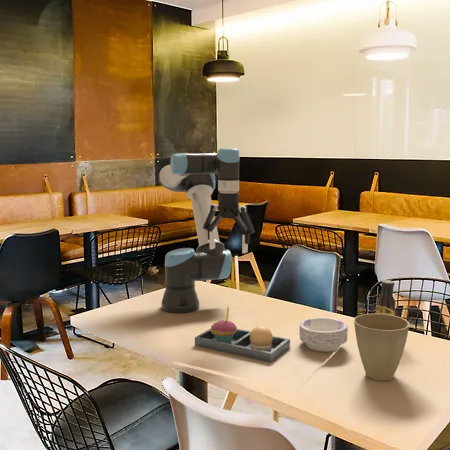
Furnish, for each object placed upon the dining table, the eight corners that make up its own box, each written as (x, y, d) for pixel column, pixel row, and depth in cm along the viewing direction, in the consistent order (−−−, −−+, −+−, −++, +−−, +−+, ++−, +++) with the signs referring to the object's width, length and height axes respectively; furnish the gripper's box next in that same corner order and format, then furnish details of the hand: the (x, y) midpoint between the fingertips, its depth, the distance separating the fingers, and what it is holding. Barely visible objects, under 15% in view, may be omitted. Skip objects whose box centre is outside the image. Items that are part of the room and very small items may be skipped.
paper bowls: (296, 338, 181) (297, 316, 180) (342, 339, 181) (343, 316, 180) (301, 356, 166) (302, 332, 165) (351, 357, 166) (352, 332, 165)
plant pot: (403, 367, 159) (406, 314, 156) (409, 389, 144) (412, 332, 142) (351, 362, 162) (353, 311, 159) (351, 383, 148) (354, 328, 145)
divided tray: (194, 347, 173) (194, 337, 173) (217, 334, 185) (217, 324, 185) (271, 365, 160) (271, 353, 159) (289, 349, 172) (290, 339, 171)
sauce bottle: (370, 338, 182) (372, 281, 179) (379, 333, 186) (381, 277, 183) (388, 343, 177) (391, 284, 174) (397, 338, 182) (400, 281, 179)
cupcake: (224, 335, 182) (224, 301, 180) (242, 342, 176) (242, 307, 174) (205, 342, 176) (205, 306, 174) (223, 349, 170) (223, 312, 168)
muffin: (245, 352, 168) (245, 328, 167) (256, 344, 174) (256, 321, 173) (266, 356, 164) (266, 332, 163) (276, 348, 170) (276, 325, 169)
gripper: (193, 191, 194) (193, 248, 198) (254, 194, 182) (254, 256, 185) (204, 189, 201) (204, 245, 204) (264, 192, 188) (264, 252, 192)
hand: (228, 250), depth 195 cm, fingers open, 13 cm apart
